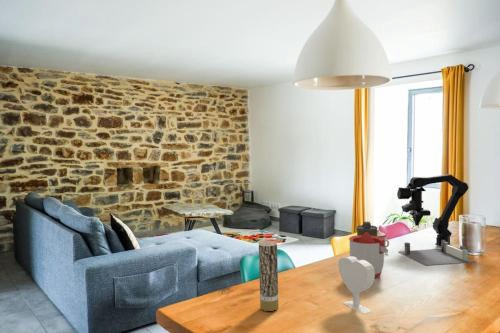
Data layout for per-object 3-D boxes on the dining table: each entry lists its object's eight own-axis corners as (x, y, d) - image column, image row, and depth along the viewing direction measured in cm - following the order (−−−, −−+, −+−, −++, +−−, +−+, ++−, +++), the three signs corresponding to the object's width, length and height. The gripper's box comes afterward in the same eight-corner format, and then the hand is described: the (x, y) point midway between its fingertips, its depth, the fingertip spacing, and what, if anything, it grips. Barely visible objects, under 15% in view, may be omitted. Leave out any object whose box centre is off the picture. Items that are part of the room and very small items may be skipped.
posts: (448, 251, 221) (448, 239, 220) (466, 258, 207) (466, 245, 206) (404, 254, 217) (404, 242, 216) (419, 261, 203) (419, 249, 202)
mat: (443, 249, 226) (443, 248, 226) (475, 262, 200) (475, 261, 200) (398, 252, 221) (398, 251, 221) (426, 265, 196) (426, 265, 196)
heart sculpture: (376, 312, 144) (376, 263, 143) (366, 315, 141) (365, 265, 140) (347, 298, 157) (346, 253, 156) (337, 301, 155) (336, 255, 154)
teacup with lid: (365, 249, 228) (365, 229, 228) (375, 247, 234) (375, 227, 233) (383, 254, 219) (383, 232, 218) (393, 251, 224) (393, 230, 223)
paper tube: (267, 303, 154) (266, 239, 153) (282, 308, 150) (280, 241, 149) (256, 309, 149) (254, 243, 148) (271, 314, 145) (269, 245, 143)
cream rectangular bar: (443, 251, 217) (443, 242, 217) (446, 251, 217) (446, 242, 217) (464, 260, 200) (464, 250, 200) (467, 260, 200) (467, 250, 200)
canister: (380, 263, 203) (380, 223, 202) (359, 263, 203) (359, 224, 202) (374, 257, 213) (373, 219, 212) (354, 257, 214) (354, 220, 213)
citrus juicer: (381, 284, 172) (381, 238, 171) (343, 276, 183) (343, 233, 182) (393, 274, 185) (393, 231, 184) (357, 268, 195) (356, 227, 194)
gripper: (395, 197, 240) (395, 223, 241) (412, 201, 222) (412, 229, 223) (412, 196, 242) (412, 222, 243) (431, 200, 224) (431, 228, 225)
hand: (416, 225), depth 233 cm, fingers closed
